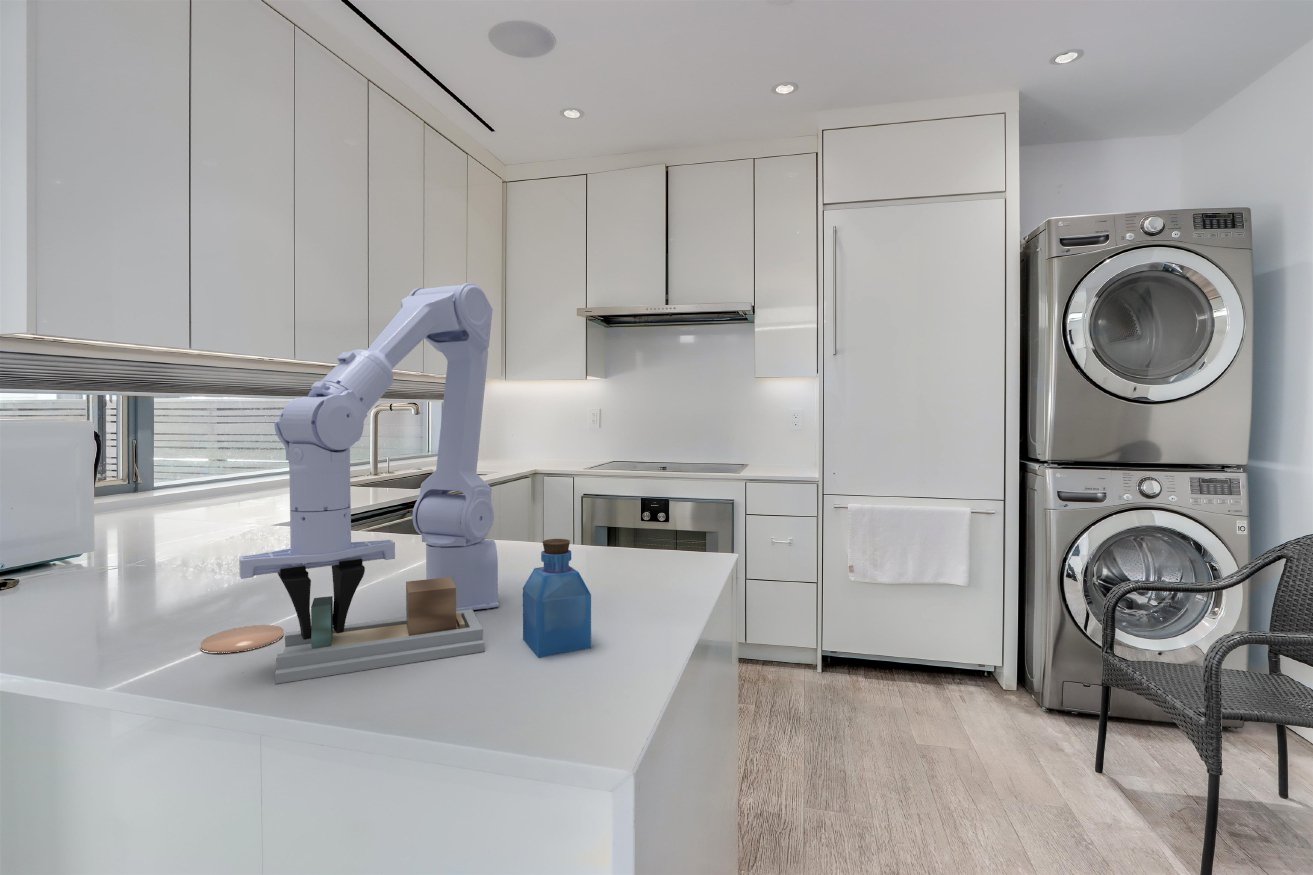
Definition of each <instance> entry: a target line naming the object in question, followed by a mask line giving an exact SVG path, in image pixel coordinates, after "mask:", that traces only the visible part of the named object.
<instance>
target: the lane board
mask: <svg viewBox="0 0 1313 875" xmlns="http://www.w3.org/2000/svg"><path fill="white" fill-rule="evenodd" d="M456 613H460V614H461V616H462V618H463V621H464V623H465V628H462V629H455V630H448V631H440V632H433V633H426V634H419V635H411V636H404V637H397V638H390V639H382V640H375V641H368V642H361V643H353V644H346V645H339V646H332V647H324V648H317V649H316V648H315V649H312V636H311V639H306V640H303V638H302V636H301V630H295V631H287V632H285V635H284V645H285V646H284V649H283V651H282V653H277V656H276V658H275V660H276V661H275V662H276V663H275V664H276V668H275V669H276V670H275V673H274V684H275V685H276V684H284V683H290V682H296V681H297V682H298V681H302V680H308V679H310V680H311V679H316V678H322V677H330V676H335V675H341V674H347V673H354V672H361V671H367V670H373V669H380V668H386V667H392V666H394V667H395V666H399V665H405V664H407V665H408V664H413V663H418V662H424V661H433V660H437V659H444V658H445V659H446V658H452V657H458V656H463V655H465V656H466V655H469V654H477V653H482V652H483V653H484V652H485V641H484V630H483V629H484V628H483V627H482V625H481V623H480V621H479V619H478V618H477V615H476V613H475V612H474V610H472V609H469V610H461V611H456ZM402 624H406V617H399V618H390V619H383V620H375V621H367V622H359V623H351V624H345V626H344V632H348V631H356V630H364V629H372V628H379V627H387V626H395V625H402ZM333 633H336V632H335V630H334V629H333Z"/></svg>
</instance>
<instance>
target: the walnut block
mask: <svg viewBox="0 0 1313 875" xmlns="http://www.w3.org/2000/svg"><path fill="white" fill-rule="evenodd" d="M405 594H406V595H405V598H406V601H405V602H406V604H405V605H406V606H405V608H406V614H405V615H406V624H407V630H408V636H411V635H419V634H426V633H433V632H440V631H448V630H455V629H456V587H455V585H454V583H453V581H452V579H451V577H446V578H436V579H427V580H426V579H418V580H408V581H406V582H405Z"/></svg>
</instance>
